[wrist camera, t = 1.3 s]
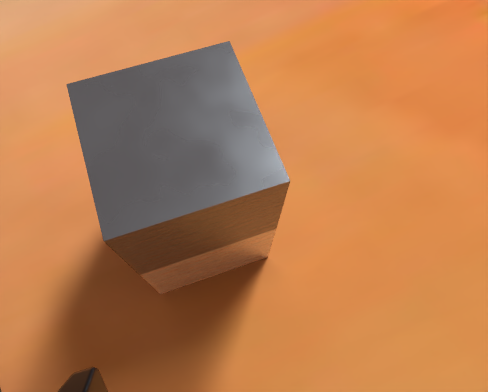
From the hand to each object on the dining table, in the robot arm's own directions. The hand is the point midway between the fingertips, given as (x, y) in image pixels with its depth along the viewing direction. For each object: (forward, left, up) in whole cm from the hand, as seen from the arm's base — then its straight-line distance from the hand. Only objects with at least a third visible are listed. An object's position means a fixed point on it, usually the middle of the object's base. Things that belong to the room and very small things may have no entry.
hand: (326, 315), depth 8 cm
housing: (0, +8, -14) cm, 15 cm away
